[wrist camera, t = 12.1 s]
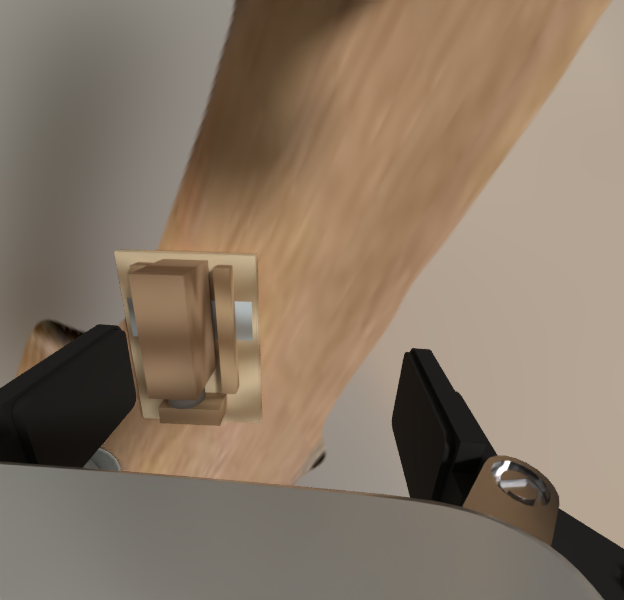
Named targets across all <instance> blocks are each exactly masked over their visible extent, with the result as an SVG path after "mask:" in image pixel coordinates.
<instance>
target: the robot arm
mask: <svg viewBox="0 0 624 600" xmlns="http://www.w3.org/2000/svg"><path fill="white" fill-rule="evenodd" d="M135 402H136V392H135V386H134V380H133V374H132V368H131V362H130V356H129V350H128V345H127V339H126V334H125V332H124V331H123V330H121V328H120V327H119V326H115V325H101V324H99V325H96V326H95V327H93V328H92V329H90V330H89V331H87V332H86V333H84V334H83V335H81V336H80V337H78V338H76V339H75V340H73V341H72V342H70V343H69V344H67V345H66V346H64V347H63V348H61V349H60V350H58V351H57V352H55V353H54V354H52V355H50V356H49V357H47V358H46V359H44V360H43V361H41V362H40V363H38V364H37V365H35V366H34V367H32V368H31V369H29V370H27V371H26V372H24V373H23V374H21V375H20V376H18V377H17V378H15V379H14V380H12V381H11V382H9V383H8V384H6V385H5V386H3V387H2V388H0V600H624V549H623V548H621V547H620V546H618V545H617V544H615V543H613V542H612V541H610V540H609V539H607V538H605V537H604V536H602V535H601V534H599V533H597V532H596V531H594V530H593V529H591V528H590V527H588V526H586V525H585V524H583V523H581V522H580V521H578V520H577V519H575V518H574V517H572V516H570V515H569V514H567V513H566V512H564V511H562V510H561V509H559V496H558V493H557V491H556V489H555V487H554V486H553V485H552V483H551V482H550V481H549V480H548V479H547V477H545V476H544V475H543V474H542V473H541V472H540V471H538V470H537V469H535V468H534V467H532V466H531V465H529V464H527V463H526V462H523V461H521V460H519V459H516V458H512V457H509V456H498V455H497V454H496V452H495V451H494V449H493V447H492V446H491V444H490V442H489V441H488V439H487V437H486V436H485V434H484V433H483V431H482V429H481V428H480V426H479V424H478V422H477V421H476V419H475V418H474V416H473V414H472V413H471V411H470V409H469V408H468V406H467V404H466V403H465V401H464V399H463V398H462V396H461V395H460V394H459V393H458V392H455V390H454V389H453V387H452V385H451V384H450V382H449V380H448V379H447V377H446V375H445V373H444V372H443V370H442V368H441V367H440V365H439V363H438V362H437V360H436V358H435V357H434V355H433V353H432V351H431V350H429V349H416V348H412V349H411V351H410V352H406V353H405V354H404V359H403V364H402V369H401V374H400V379H399V384H398V390H397V395H396V400H395V406H394V410H393V416H392V428H393V432H394V436H395V440H396V444H397V448H398V452H399V456H400V460H401V464H402V467H403V471H404V475H405V479H406V482H407V487H408V491H409V495H410V498H409V497H401V496H393V495H386V494H375V493H364V492H354V491H345V490H334V489H323V488H312V487H301V486H290V485H279V484H268V483H257V482H246V481H235V480H223V479H211V478H200V477H188V476H176V475H164V474H152V473H140V472H128V471H116V470H103V469H90V468H83V467H84V466H85V465H86V463H87V462H88V461H89V460H90V459H91V457H92V456H93V455H94V454H95V453H96V451H97V450H98V449H99V448H100V447H101V445H102V444H103V443H104V442H105V441H106V439H107V438H108V437H109V436H110V435H111V433H112V432H113V431H114V430H115V429H116V427H117V426H118V425H119V424H120V423H121V421H122V420H123V419H124V418H125V417H126V415H127V414H128V413H129V412H130V411H131V409H132V408H133V407H134V405H135Z"/></svg>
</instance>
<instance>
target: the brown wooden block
mask: <svg viewBox="0 0 624 600" xmlns="http://www.w3.org/2000/svg"><path fill="white" fill-rule="evenodd" d="M128 277H129V283H130V289H131V295H132V301H133V307H134V313H135V319H136V325H137V331H138V337H139V343H140V349H141V355H142V361H143V367H144V373H145V379H146V385H147V391H148V397H149V399H168V400H169V404H170V406H171V407H173V408H176V409H188V408H192V407H194V406H197V405H198V404H200V403H201V402H202V401H203V400H204V399H205V397H206V393H205V386H206V384H207V382H208V381H209V379H210V377H211V376H212V374H213V372H214V370H215V369H216V367H217V365H216V353H215V341H214V328H213V316H212V304H211V291H210V279H209V267H208V260H181V259H161V260H159V261H157V262H155V263H152V264H150V265H148V266H145V267H143V268H141V269H139V270H136V271H134V272H132V273H129V274H128Z"/></svg>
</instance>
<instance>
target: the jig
mask: <svg viewBox="0 0 624 600" xmlns="http://www.w3.org/2000/svg"><path fill="white" fill-rule="evenodd" d="M114 254H115V260H116V265H117V271H118V277H119V282H120V288H121V293H122V299H123V305H124V311H125V316H126V322H127V328H128V333H129V339H130V345H131V350H132V356H133V362H134V367H135V373H136V379H137V384H138V390H139V395H140V401H141V407H142V412H143V418H154V419H160V423H171V424H194V425H216V426H220V425H221V422H245V423H261V419H262V395H261V362H260V328H259V295H258V262H257V254H254V253H223V252H192V251H161V250H130V249H120V250H117V251H114ZM161 259H181V260H208V267H209V279H210V291H211V304H212V316H213V328H214V341H215V353H216V365H217V367H216V369H215V370H214V372H213V374H212V376H211V377H210V379H209V381H208V382H207V384H206V386H205V393H206V397H205V399H204V400H203V401H202V402H201V403H200V404H198V405H197V406H194V407H192V408H188V409H176V408H173V407H171V406H170V404H169V400H168V399H149V397H148V391H147V385H146V379H145V373H144V367H143V361H142V355H141V349H140V343H139V337H138V331H137V325H136V319H135V313H134V307H133V301H132V295H131V289H130V283H129V277H128V274H129V273H132V272H134V271H136V270H139V269H141V268H143V267H145V266H148V265H150V264H152V263H155V262H157V261H159V260H161Z"/></svg>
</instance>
